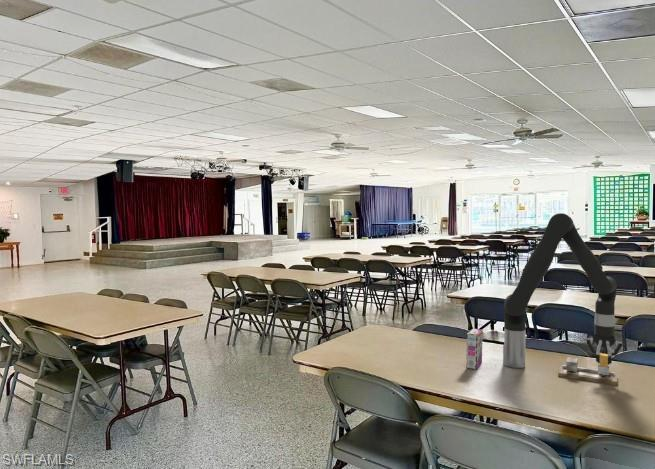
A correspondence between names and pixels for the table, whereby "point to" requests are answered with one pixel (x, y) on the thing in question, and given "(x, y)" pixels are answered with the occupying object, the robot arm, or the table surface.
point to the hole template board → (585, 373)
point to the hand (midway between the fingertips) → (603, 363)
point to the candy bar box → (474, 349)
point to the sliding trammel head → (603, 365)
